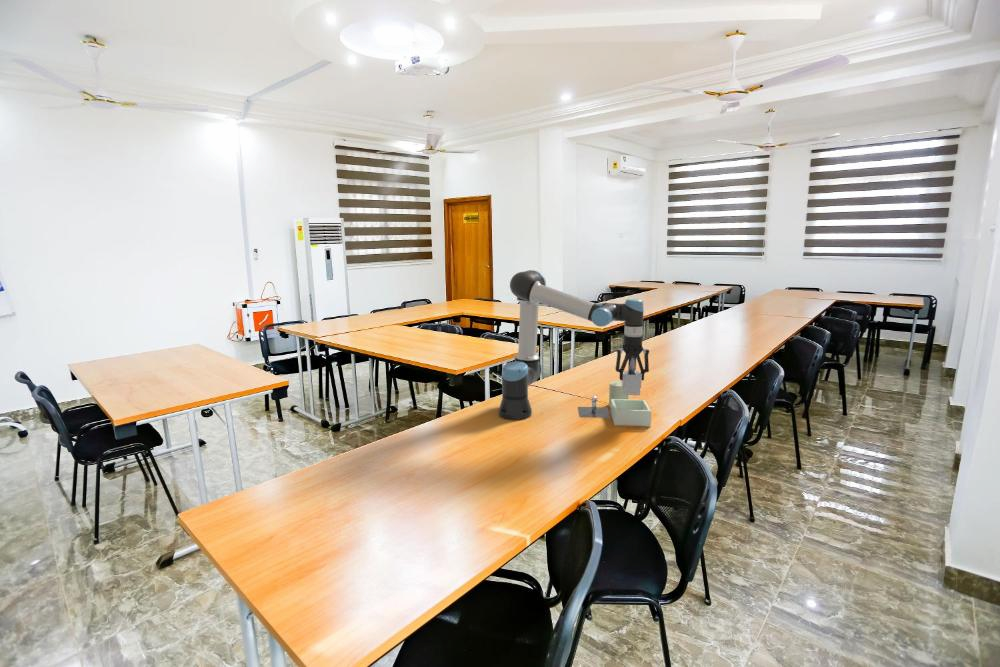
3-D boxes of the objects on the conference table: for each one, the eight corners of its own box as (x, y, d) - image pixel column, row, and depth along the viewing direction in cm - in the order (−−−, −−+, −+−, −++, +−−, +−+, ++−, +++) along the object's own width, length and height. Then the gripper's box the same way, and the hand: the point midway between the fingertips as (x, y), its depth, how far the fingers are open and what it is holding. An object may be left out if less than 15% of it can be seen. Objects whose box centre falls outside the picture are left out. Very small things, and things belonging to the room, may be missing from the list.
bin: (614, 425, 212) (615, 410, 211) (610, 413, 227) (611, 399, 225) (650, 426, 210) (651, 411, 209) (644, 414, 225) (644, 399, 224)
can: (604, 405, 238) (605, 381, 236) (620, 402, 242) (620, 378, 240) (616, 411, 230) (617, 386, 228) (632, 408, 234) (633, 383, 231)
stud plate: (579, 417, 222) (579, 400, 220) (577, 407, 235) (577, 391, 234) (611, 418, 220) (611, 401, 219) (607, 408, 234) (608, 391, 232)
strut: (624, 394, 213) (625, 358, 210) (622, 390, 220) (623, 355, 217) (639, 395, 213) (641, 359, 210) (637, 390, 219) (638, 355, 216)
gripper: (611, 337, 209) (609, 389, 213) (658, 337, 207) (656, 390, 211) (609, 333, 216) (607, 384, 220) (654, 333, 214) (652, 385, 218)
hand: (631, 387), depth 216 cm, fingers closed on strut, 6 cm apart
